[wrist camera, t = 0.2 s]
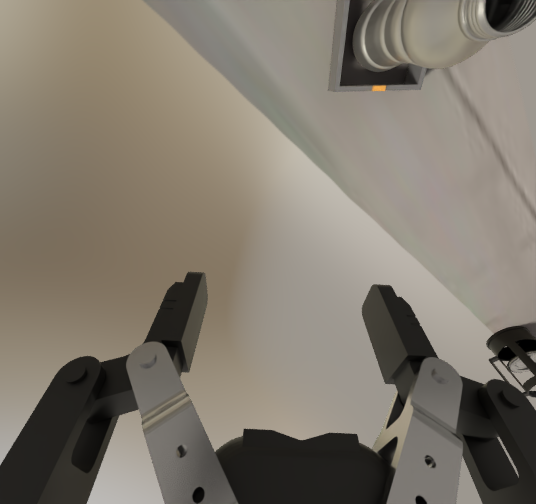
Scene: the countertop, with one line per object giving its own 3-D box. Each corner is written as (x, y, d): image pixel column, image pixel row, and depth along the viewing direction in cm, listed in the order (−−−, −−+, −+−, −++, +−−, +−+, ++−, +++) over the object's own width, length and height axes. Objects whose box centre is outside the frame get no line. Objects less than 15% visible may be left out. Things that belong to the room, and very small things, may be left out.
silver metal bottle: (394, 74, 31) (540, 73, 15) (341, 69, 31) (430, 63, 14) (415, 2, 28) (641, -105, 11) (355, -4, 27) (495, -125, 11)
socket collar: (339, -24, 26) (349, -38, 23) (434, -26, 26) (458, -40, 23) (328, 90, 32) (335, 91, 29) (406, 88, 32) (422, 89, 29)
